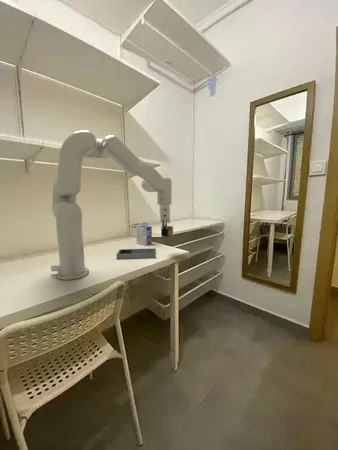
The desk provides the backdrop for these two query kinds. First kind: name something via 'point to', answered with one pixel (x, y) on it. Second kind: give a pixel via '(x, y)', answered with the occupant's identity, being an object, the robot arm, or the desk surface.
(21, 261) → the desk surface
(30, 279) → the desk surface
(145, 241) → the ink cartridge box
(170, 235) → the walnut block
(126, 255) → the dark grey tray
